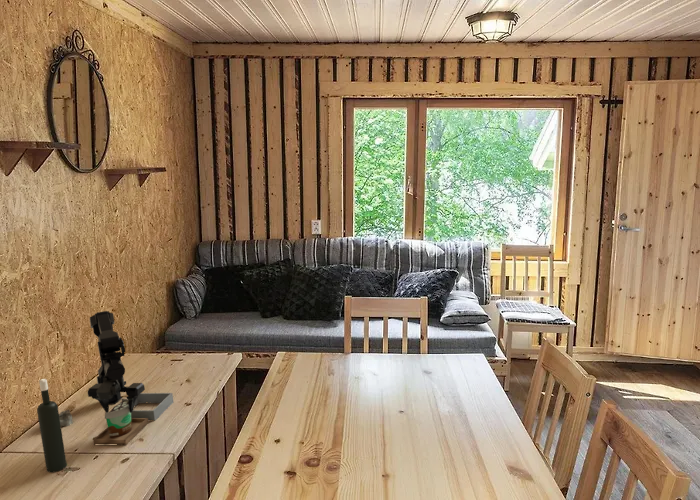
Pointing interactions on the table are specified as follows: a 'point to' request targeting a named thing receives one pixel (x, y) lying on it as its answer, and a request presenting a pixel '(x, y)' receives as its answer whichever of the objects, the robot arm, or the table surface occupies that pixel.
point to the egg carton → (65, 418)
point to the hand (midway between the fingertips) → (119, 412)
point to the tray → (125, 439)
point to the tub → (161, 398)
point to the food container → (119, 419)
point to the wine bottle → (50, 431)
